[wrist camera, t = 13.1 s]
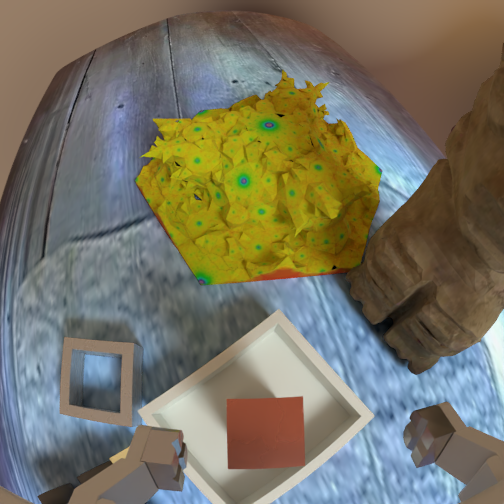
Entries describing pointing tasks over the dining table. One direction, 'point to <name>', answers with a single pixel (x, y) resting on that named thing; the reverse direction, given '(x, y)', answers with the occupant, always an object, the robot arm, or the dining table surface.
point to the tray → (252, 387)
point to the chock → (119, 455)
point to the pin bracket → (75, 371)
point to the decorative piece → (262, 189)
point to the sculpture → (444, 245)
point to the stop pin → (265, 433)
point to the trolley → (69, 487)
